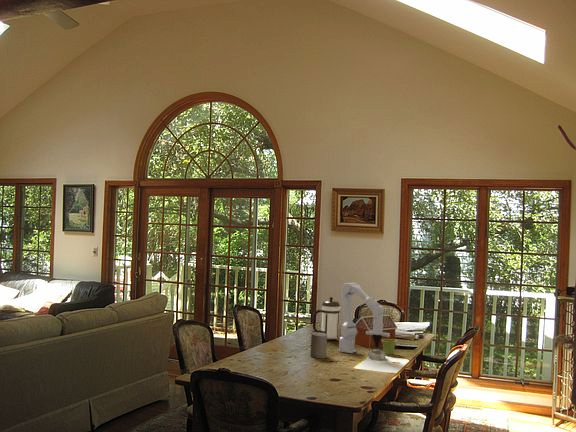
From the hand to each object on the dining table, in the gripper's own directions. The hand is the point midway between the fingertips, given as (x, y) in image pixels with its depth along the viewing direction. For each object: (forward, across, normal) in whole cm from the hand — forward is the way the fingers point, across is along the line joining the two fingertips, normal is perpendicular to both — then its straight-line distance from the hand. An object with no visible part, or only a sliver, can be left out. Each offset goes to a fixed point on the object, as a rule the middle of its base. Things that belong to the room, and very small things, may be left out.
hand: (377, 347), depth 368 cm
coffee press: (+7, -46, +37) cm, 59 cm away
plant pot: (+7, +3, +16) cm, 18 cm away
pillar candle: (+7, -32, -16) cm, 36 cm away
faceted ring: (+7, 0, 0) cm, 7 cm away
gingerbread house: (+7, -14, +41) cm, 44 cm away
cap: (+6, 0, 0) cm, 6 cm away
